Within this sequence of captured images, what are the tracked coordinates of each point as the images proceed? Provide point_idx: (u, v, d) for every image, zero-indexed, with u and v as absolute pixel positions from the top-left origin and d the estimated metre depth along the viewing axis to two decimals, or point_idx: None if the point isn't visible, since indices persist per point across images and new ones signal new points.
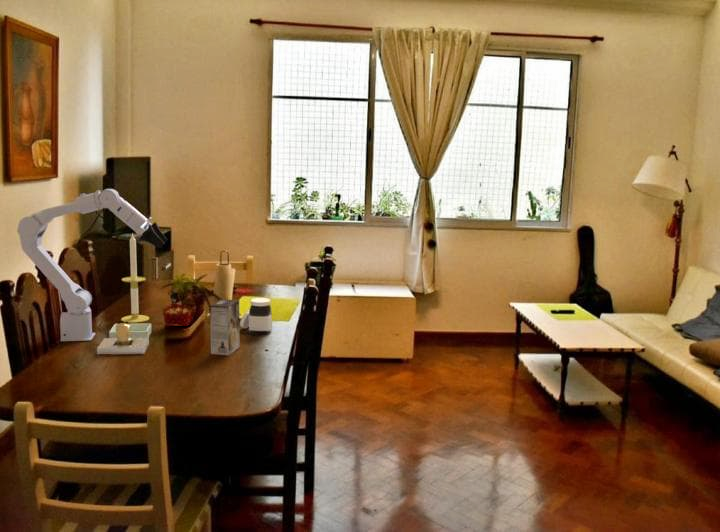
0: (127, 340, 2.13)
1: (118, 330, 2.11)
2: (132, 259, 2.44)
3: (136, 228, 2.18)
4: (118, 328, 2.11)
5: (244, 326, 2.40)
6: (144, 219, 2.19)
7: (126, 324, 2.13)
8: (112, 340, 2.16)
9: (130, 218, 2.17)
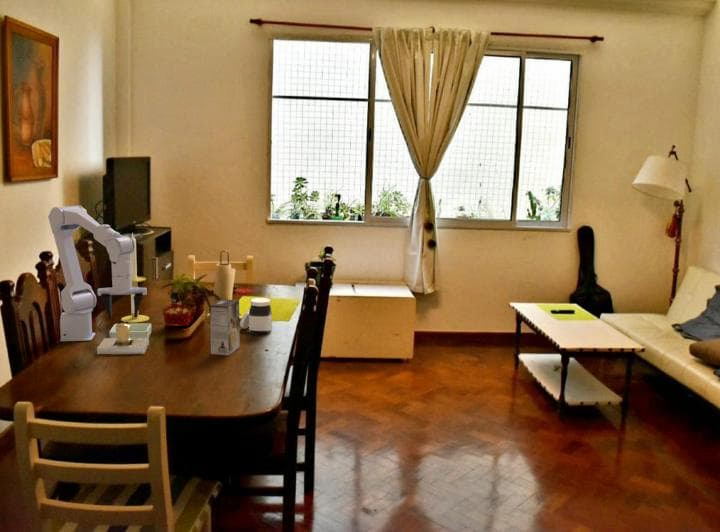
0: (127, 340, 2.13)
1: (118, 330, 2.11)
2: (132, 259, 2.44)
3: None
4: (118, 328, 2.11)
5: (244, 326, 2.40)
6: (116, 288, 2.08)
7: (126, 324, 2.13)
8: (112, 340, 2.16)
9: None
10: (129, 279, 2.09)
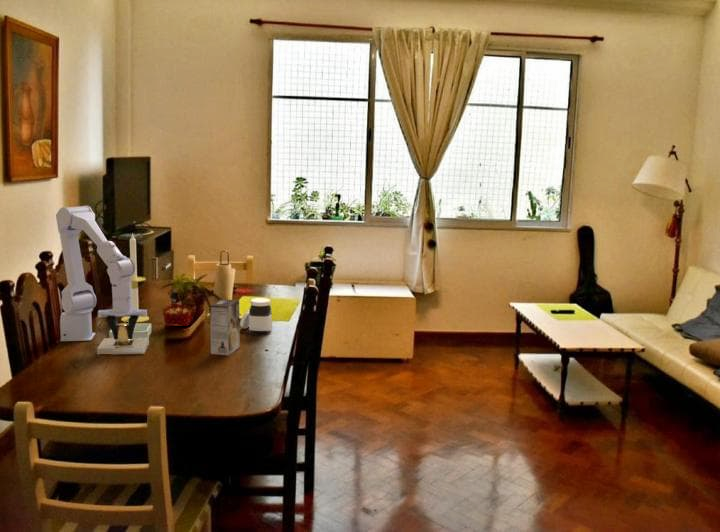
0: (127, 340, 2.13)
1: (118, 330, 2.11)
2: (132, 259, 2.44)
3: None
4: (118, 328, 2.11)
5: (244, 326, 2.40)
6: (116, 310, 2.09)
7: (126, 324, 2.13)
8: (112, 340, 2.16)
9: None
10: (129, 301, 2.11)
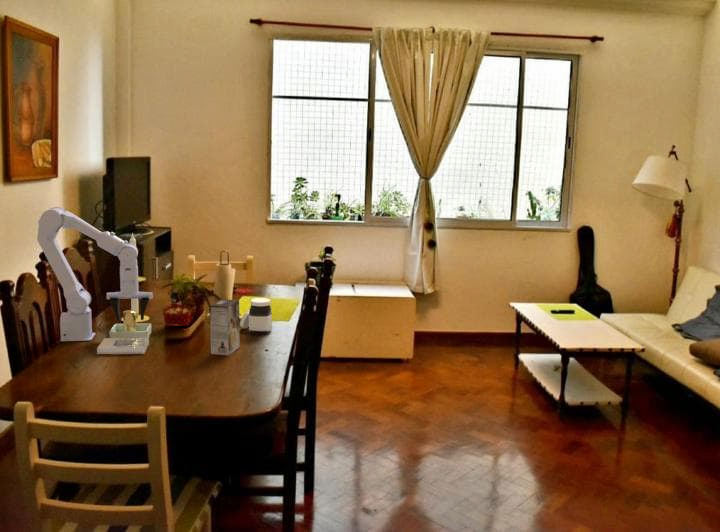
0: (133, 326, 2.26)
1: (125, 317, 2.25)
2: None
3: None
4: (125, 315, 2.25)
5: (244, 326, 2.40)
6: (123, 292, 2.22)
7: (132, 311, 2.27)
8: (112, 340, 2.16)
9: None
10: (136, 284, 2.24)
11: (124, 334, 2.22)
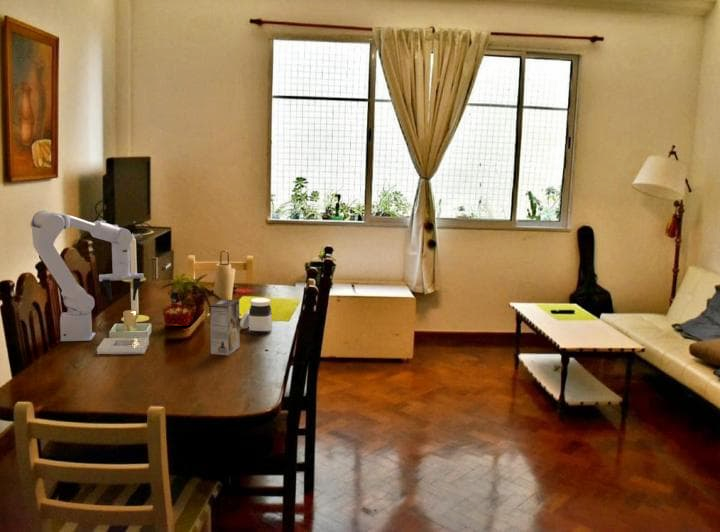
0: (134, 326, 2.26)
1: (125, 317, 2.25)
2: (132, 259, 2.44)
3: None
4: (125, 315, 2.25)
5: (244, 326, 2.40)
6: (116, 273, 2.29)
7: (132, 311, 2.27)
8: (112, 340, 2.16)
9: (112, 263, 2.31)
10: (128, 266, 2.31)
11: (124, 334, 2.22)
